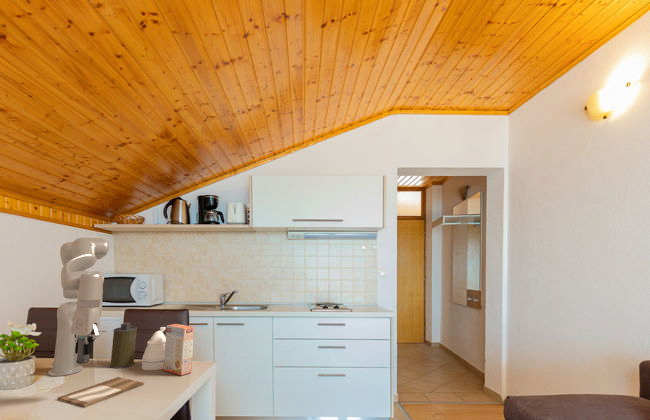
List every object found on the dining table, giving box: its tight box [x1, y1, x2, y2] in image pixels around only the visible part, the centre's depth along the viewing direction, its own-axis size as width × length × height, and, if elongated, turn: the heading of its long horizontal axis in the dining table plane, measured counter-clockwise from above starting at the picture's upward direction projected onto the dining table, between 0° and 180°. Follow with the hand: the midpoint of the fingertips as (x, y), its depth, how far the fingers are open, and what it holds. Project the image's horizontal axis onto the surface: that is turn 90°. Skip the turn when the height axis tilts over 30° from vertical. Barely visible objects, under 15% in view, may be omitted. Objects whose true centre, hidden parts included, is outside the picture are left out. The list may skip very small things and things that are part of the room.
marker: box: [76, 333, 91, 365], centre depth 131 cm, size 4×4×12 cm
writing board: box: [56, 376, 145, 409], centre depth 135 cm, size 16×24×1 cm, turn 157°
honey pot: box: [141, 326, 167, 371], centre depth 168 cm, size 13×13×18 cm
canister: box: [109, 322, 138, 369], centre depth 169 cm, size 11×10×20 cm
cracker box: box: [162, 323, 195, 376], centre depth 161 cm, size 14×6×21 cm, turn 58°
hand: (83, 352), depth 131 cm, fingers closed on marker, 4 cm apart
